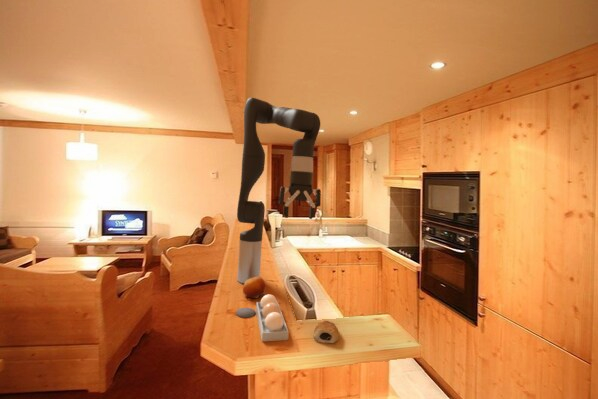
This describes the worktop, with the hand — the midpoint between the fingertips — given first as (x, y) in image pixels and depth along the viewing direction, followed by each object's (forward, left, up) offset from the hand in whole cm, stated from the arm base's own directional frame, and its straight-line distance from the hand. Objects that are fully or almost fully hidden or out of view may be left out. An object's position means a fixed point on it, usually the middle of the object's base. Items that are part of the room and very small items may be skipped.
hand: (298, 218), depth 99 cm
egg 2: (+19, -10, -27) cm, 34 cm away
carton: (+13, -10, -30) cm, 34 cm away
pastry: (+22, +5, -31) cm, 38 cm away
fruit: (-8, -13, -30) cm, 34 cm away
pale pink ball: (+13, -10, -27) cm, 31 cm away
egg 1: (+7, -10, -27) cm, 29 cm away
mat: (+6, -17, -30) cm, 35 cm away
